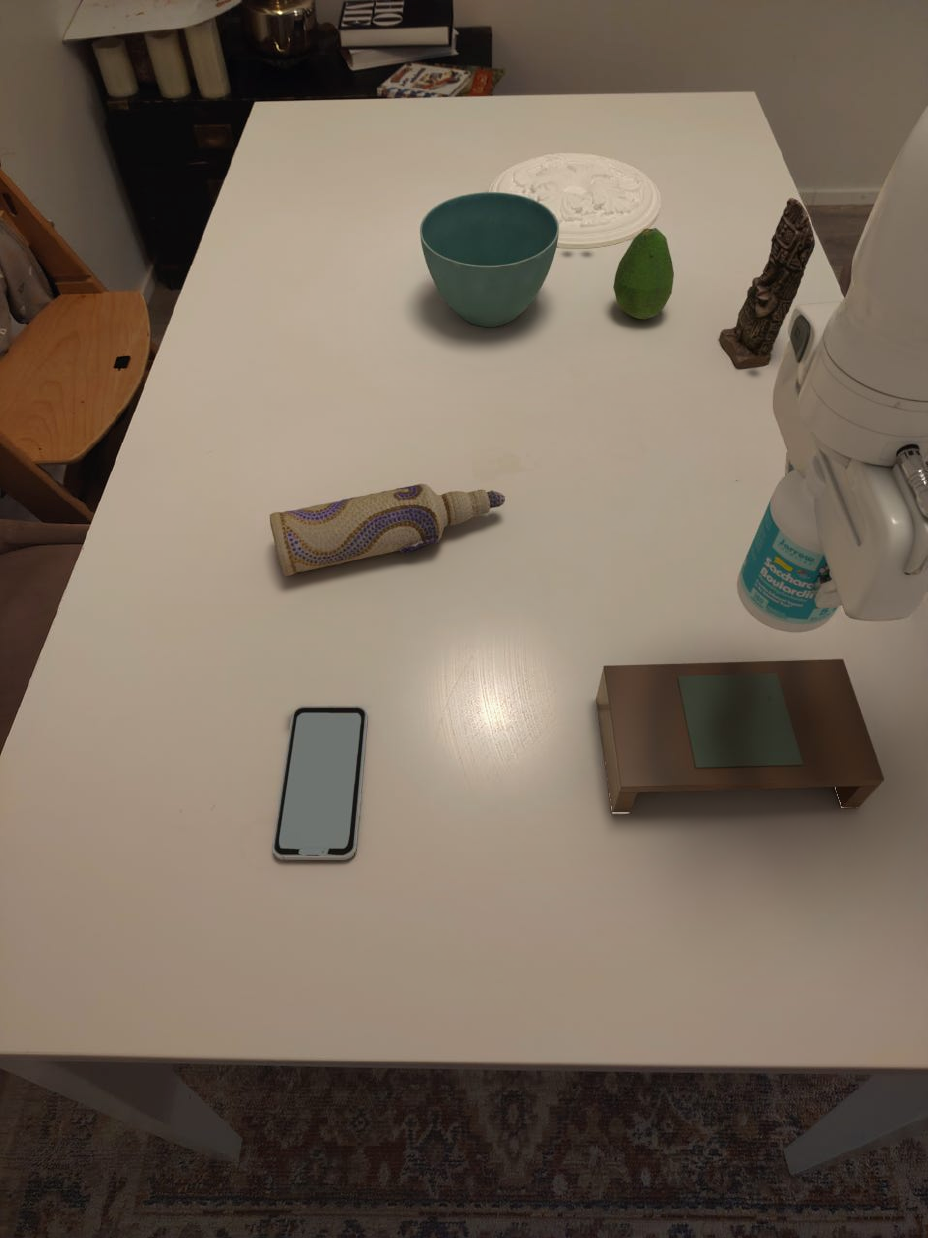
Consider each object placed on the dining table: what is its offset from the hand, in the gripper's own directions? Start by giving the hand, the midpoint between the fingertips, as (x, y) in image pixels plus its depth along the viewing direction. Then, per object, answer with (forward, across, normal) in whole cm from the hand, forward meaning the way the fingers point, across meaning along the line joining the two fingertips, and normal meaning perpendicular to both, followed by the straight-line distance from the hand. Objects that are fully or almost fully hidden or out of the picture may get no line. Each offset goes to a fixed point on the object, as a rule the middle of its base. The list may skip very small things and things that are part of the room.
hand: (807, 549), depth 58 cm
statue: (+25, +56, -15) cm, 63 cm away
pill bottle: (+6, 0, 0) cm, 6 cm away
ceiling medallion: (+25, +96, +5) cm, 99 cm away
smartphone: (+25, -5, +38) cm, 46 cm away
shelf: (+25, -3, +1) cm, 25 cm away
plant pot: (+25, +67, +20) cm, 74 cm away
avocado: (+25, +65, -1) cm, 70 cm away
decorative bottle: (+25, +23, +33) cm, 47 cm away
